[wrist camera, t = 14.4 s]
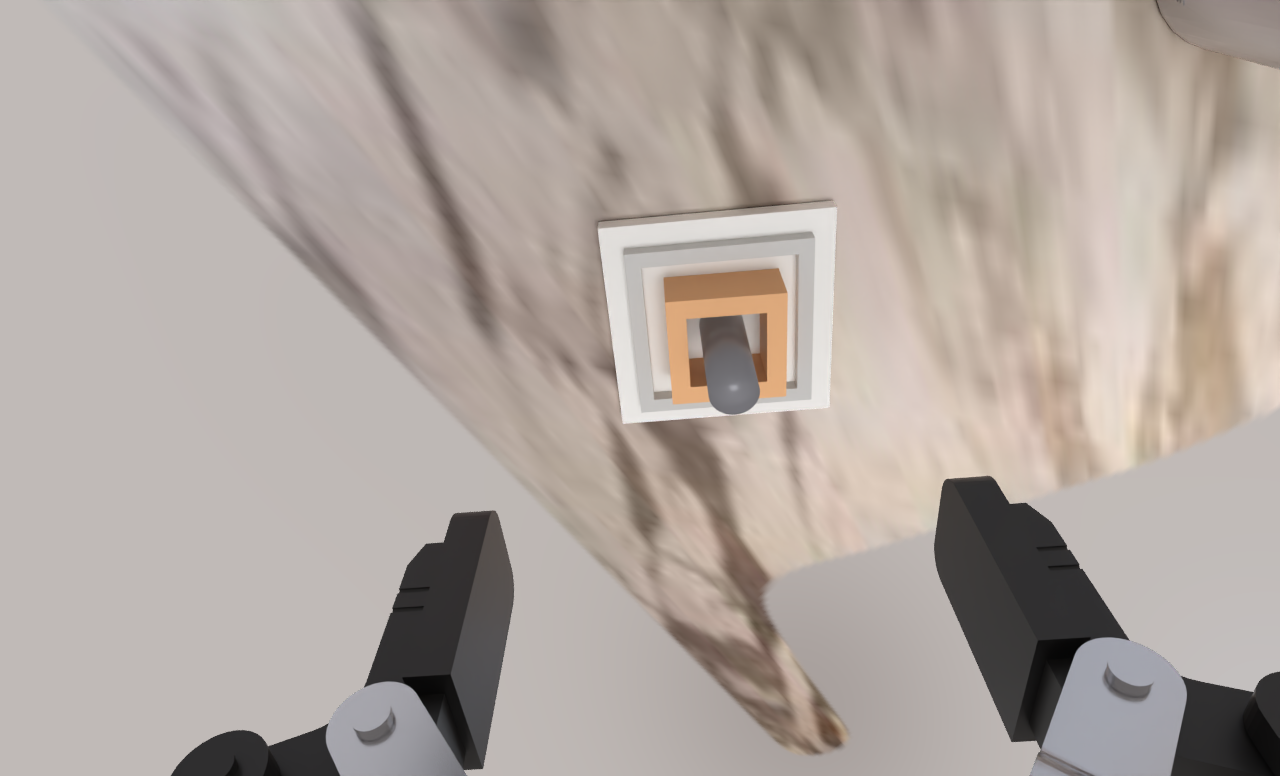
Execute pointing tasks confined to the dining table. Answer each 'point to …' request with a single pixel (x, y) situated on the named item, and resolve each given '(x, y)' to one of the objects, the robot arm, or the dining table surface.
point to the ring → (727, 299)
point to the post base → (657, 298)
